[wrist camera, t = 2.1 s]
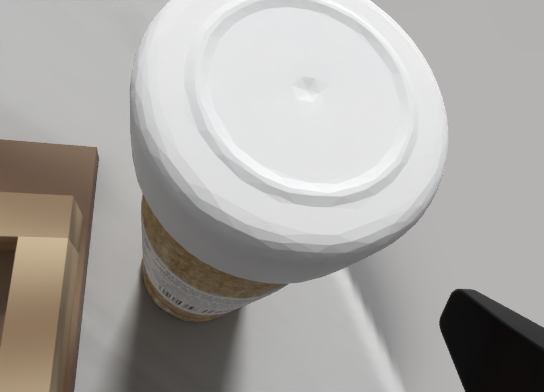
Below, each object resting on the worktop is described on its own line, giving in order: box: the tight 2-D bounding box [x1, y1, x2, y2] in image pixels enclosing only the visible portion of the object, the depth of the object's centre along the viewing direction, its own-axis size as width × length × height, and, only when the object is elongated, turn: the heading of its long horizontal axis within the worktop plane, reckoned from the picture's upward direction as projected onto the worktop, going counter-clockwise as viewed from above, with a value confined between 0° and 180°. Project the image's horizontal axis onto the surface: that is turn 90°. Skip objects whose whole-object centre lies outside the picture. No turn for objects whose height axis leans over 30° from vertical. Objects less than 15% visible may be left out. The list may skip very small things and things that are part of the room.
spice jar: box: [130, 0, 448, 322], centre depth 12 cm, size 5×5×14 cm
